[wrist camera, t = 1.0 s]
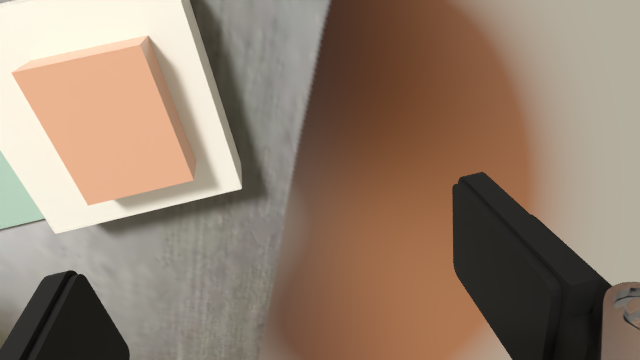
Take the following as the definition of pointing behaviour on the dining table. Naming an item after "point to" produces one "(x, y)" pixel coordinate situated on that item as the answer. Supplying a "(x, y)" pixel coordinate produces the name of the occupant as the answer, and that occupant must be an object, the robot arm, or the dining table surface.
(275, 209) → the dining table surface
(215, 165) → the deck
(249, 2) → the dining table surface
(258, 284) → the dining table surface
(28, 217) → the mat
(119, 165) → the tile
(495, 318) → the robot arm
